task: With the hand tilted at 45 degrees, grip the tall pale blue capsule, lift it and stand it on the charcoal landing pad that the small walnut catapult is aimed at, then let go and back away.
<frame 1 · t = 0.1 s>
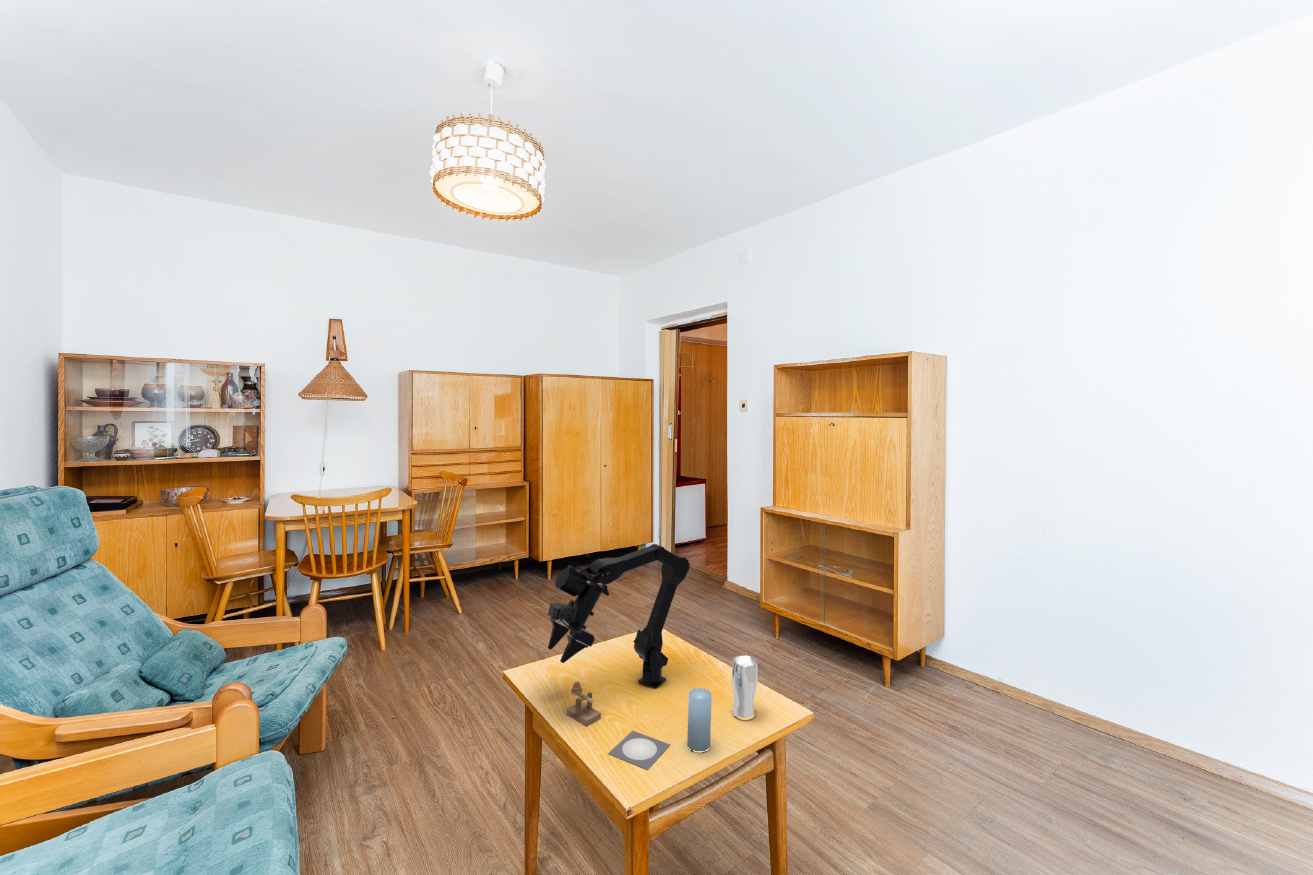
hand: (555, 655, 145), 15 cm above the table, tool tilted 35°, fingers open, 9 cm apart
landing pad: (639, 749, 129), on the table
catapult: (583, 716, 143), on the table
beer glass: (743, 715, 146), on the table
pale blue capsule: (698, 745, 131), on the table
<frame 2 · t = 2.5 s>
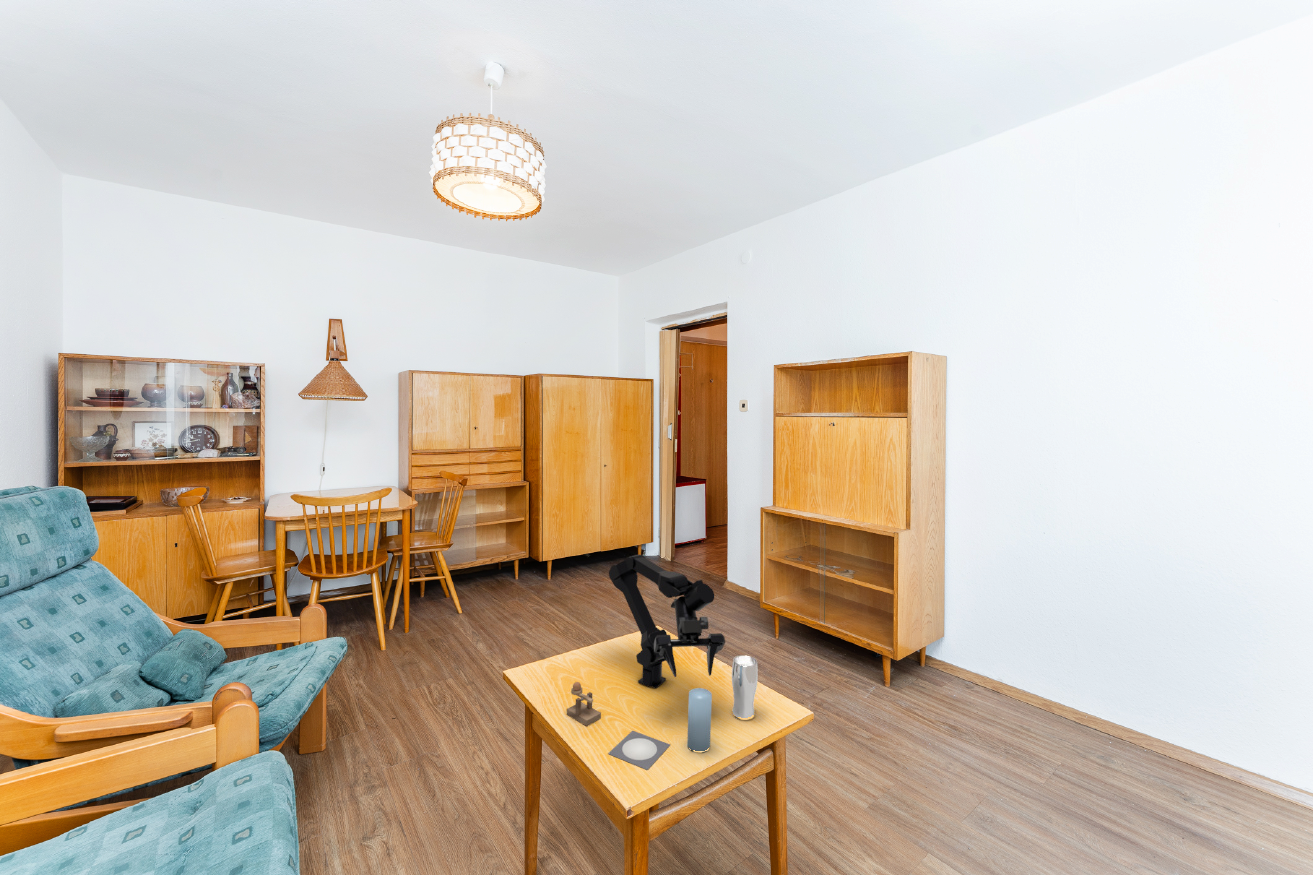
hand: (692, 675, 139), 14 cm above the table, tool tilted 45°, fingers open, 9 cm apart
nothing on the table moved.
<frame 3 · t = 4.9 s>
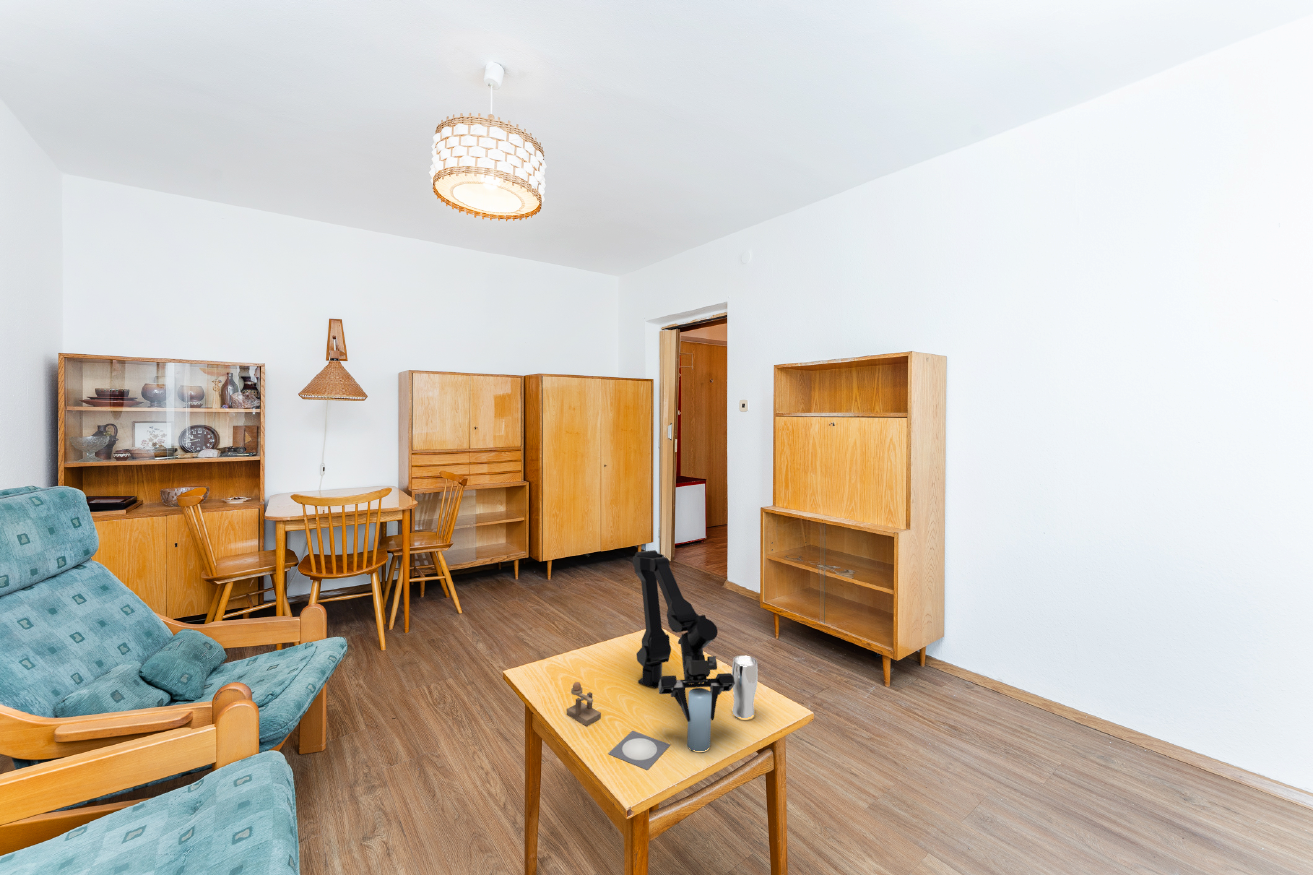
hand: (700, 720, 130), 7 cm above the table, tool tilted 45°, fingers closed on pale blue capsule, 6 cm apart
pale blue capsule: (698, 745, 131), on the table, touching gripper
everything else where it was.
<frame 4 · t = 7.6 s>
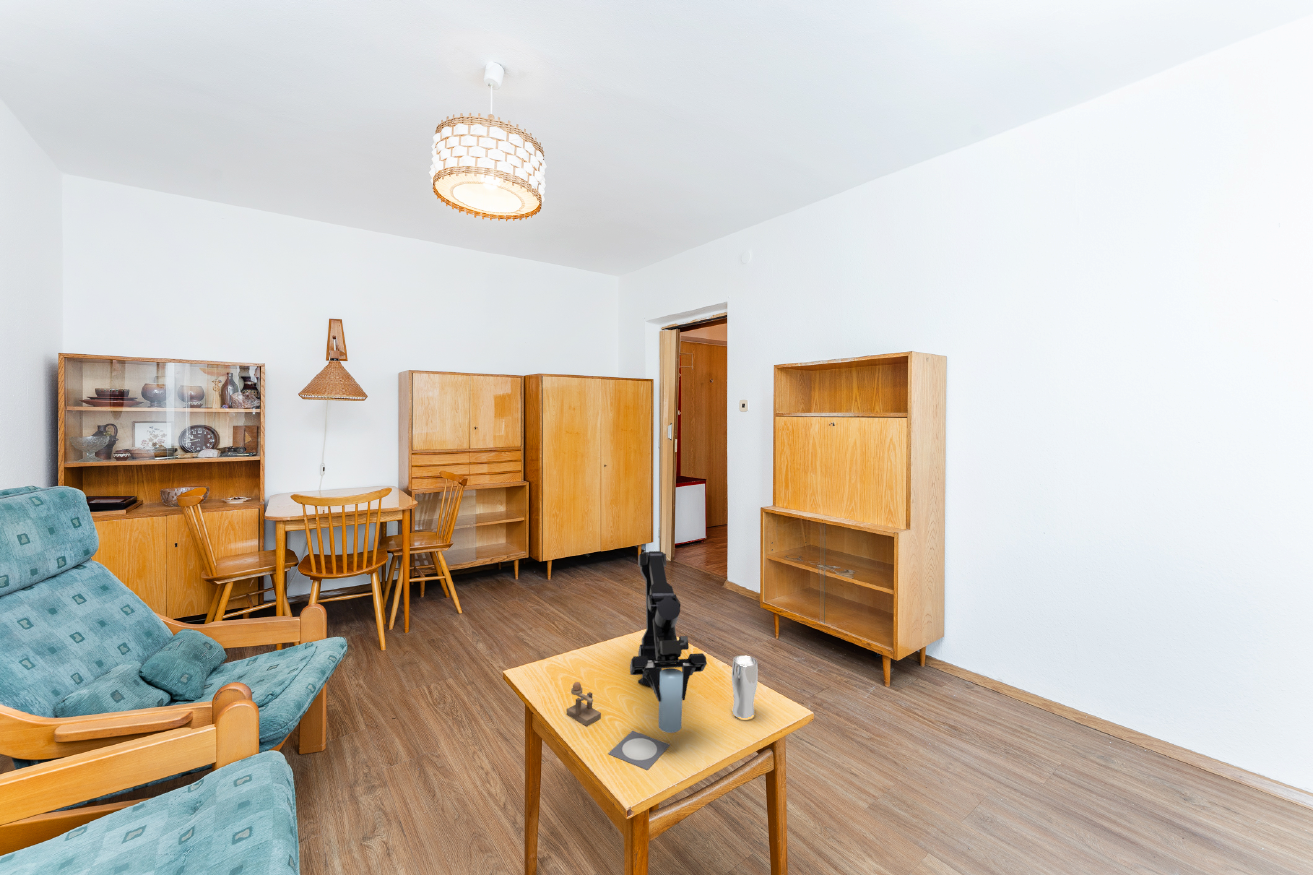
hand: (671, 700, 128), 12 cm above the table, tool tilted 45°, fingers closed on pale blue capsule, 6 cm apart
pale blue capsule: (669, 725, 130), point 5 cm above the table, touching gripper
everything else where it was.
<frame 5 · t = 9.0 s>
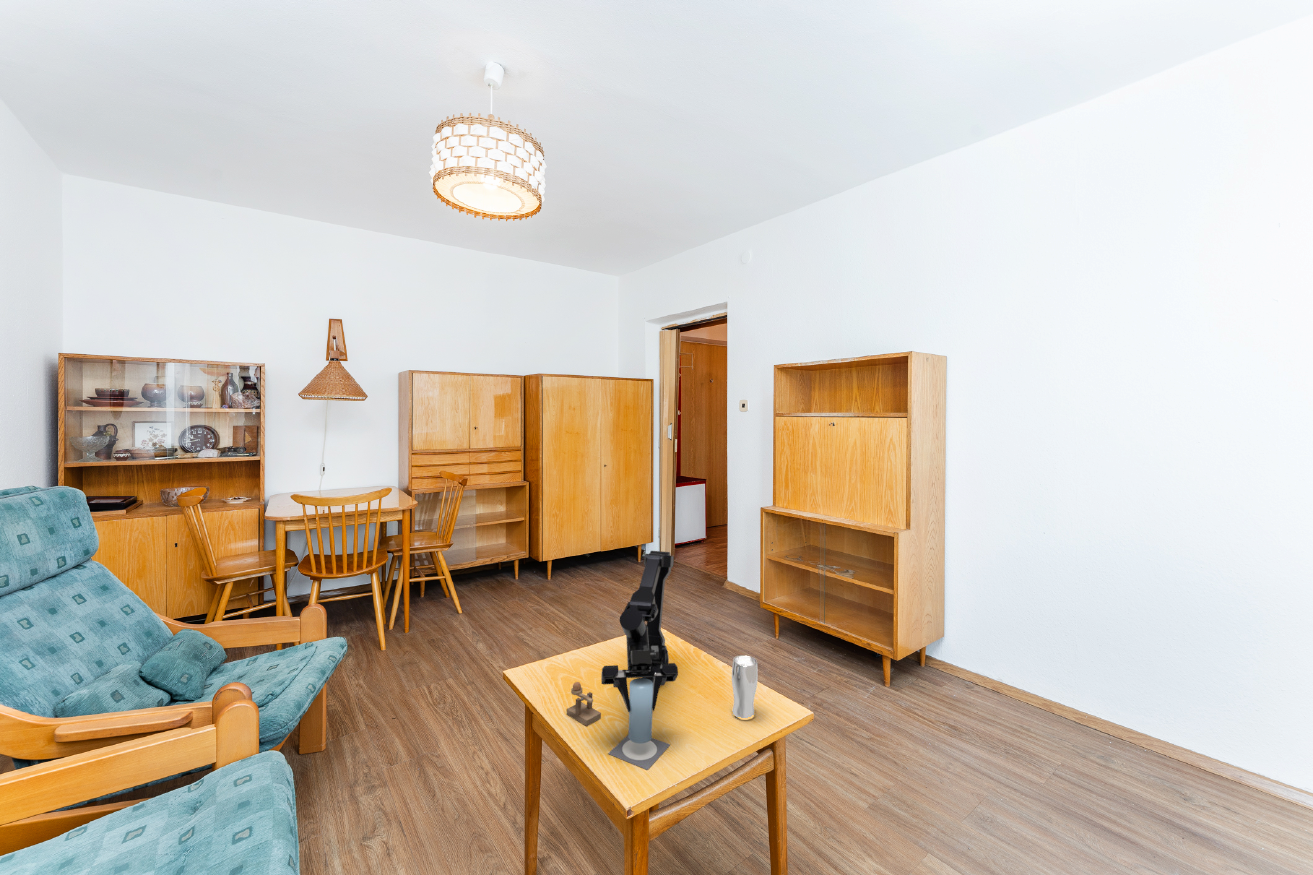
hand: (641, 710, 127), 10 cm above the table, tool tilted 45°, fingers closed on pale blue capsule, 6 cm apart
pale blue capsule: (640, 736, 129), point 3 cm above the table, touching gripper
everything else where it was.
when the fingers open (8 cm above the table, at t = 10.2 s): pale blue capsule stays where it is, resting on landing pad.
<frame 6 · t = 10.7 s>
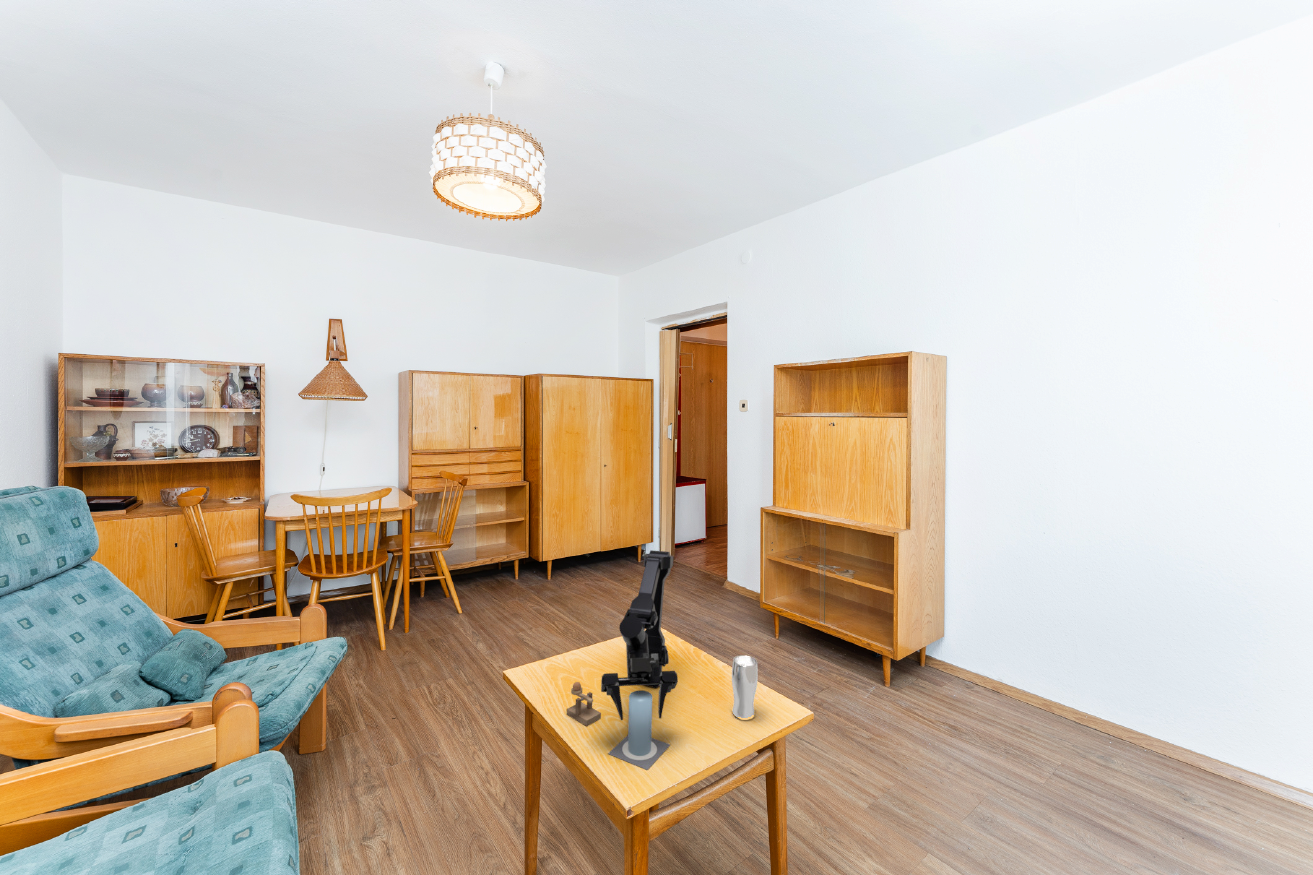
hand: (641, 718, 127), 8 cm above the table, tool tilted 45°, fingers open, 9 cm apart
pale blue capsule: (639, 748, 129), resting on landing pad
everything else where it was.
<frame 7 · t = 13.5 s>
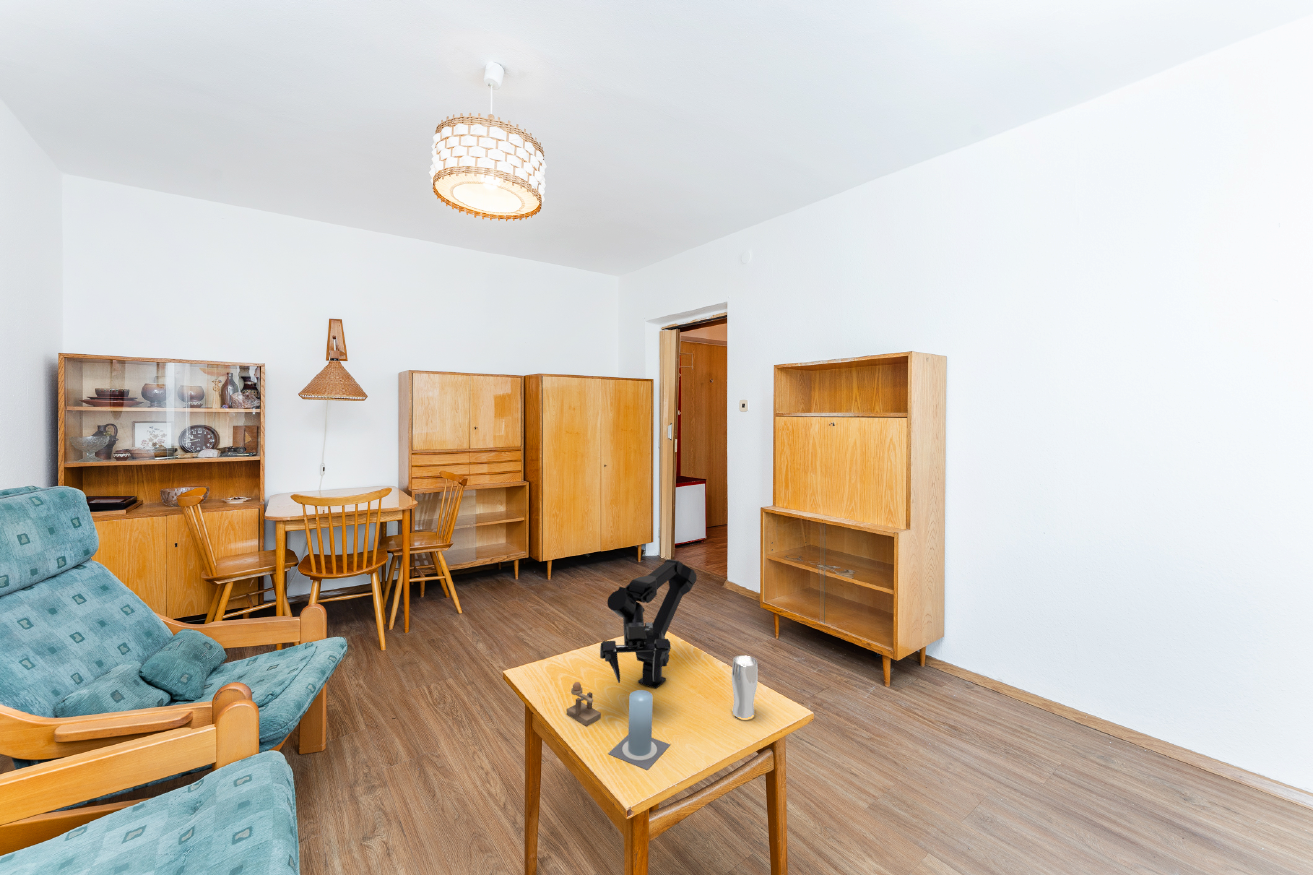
hand: (636, 681, 139), 11 cm above the table, tool tilted 45°, fingers open, 9 cm apart
nothing on the table moved.
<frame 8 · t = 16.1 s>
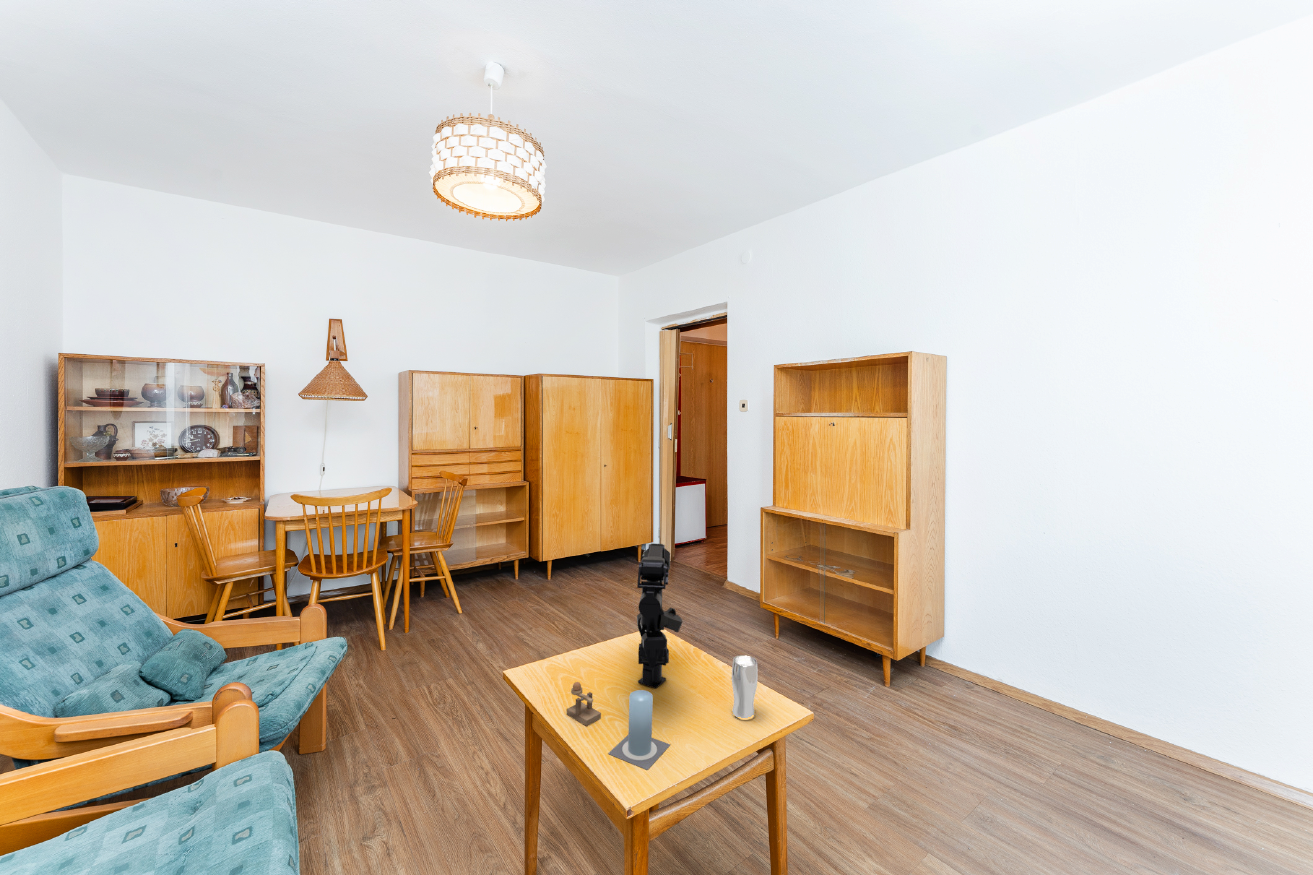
hand: (650, 659, 148), 13 cm above the table, tool pointing down, fingers open, 9 cm apart
nothing on the table moved.
at the end: pale blue capsule inside the target area on the landing pad (0.0 cm from its centre), point 0.1 cm above the landing pad's base; pale blue capsule tilted 0°; the gripper is holding nothing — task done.
